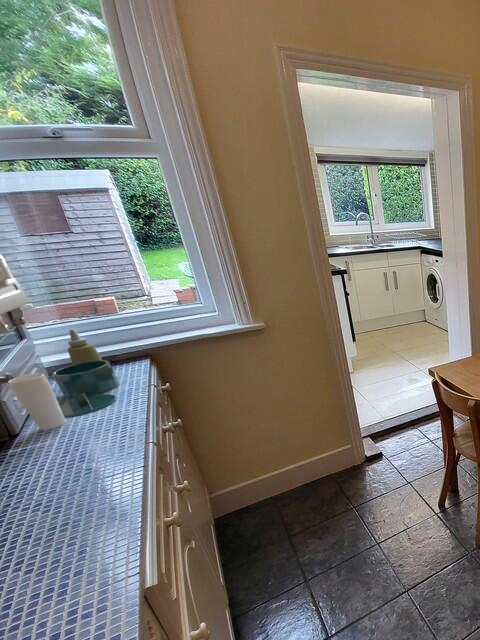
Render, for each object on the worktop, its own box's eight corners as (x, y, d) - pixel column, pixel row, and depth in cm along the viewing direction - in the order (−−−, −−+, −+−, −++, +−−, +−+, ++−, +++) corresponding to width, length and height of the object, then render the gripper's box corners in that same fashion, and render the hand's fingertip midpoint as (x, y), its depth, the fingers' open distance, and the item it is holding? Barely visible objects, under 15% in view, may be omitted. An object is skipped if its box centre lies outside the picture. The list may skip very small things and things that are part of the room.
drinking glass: (46, 434, 110) (15, 384, 104) (31, 431, 112) (1, 381, 106) (77, 422, 116) (50, 374, 110) (62, 419, 118) (35, 371, 112)
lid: (44, 424, 116) (35, 410, 114) (62, 405, 127) (55, 391, 125) (110, 410, 122) (103, 396, 120) (122, 393, 134) (116, 380, 132)
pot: (58, 404, 128) (44, 379, 125) (73, 389, 139) (60, 366, 135) (114, 393, 134) (102, 369, 131) (124, 380, 145) (113, 357, 141)
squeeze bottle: (111, 371, 153) (88, 325, 146) (109, 377, 147) (86, 329, 140) (81, 377, 148) (57, 330, 141) (79, 384, 143) (53, 334, 135)
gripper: (-14, 270, 106) (14, 322, 112) (-61, 280, 90) (-25, 340, 96) (20, 267, 109) (46, 318, 115) (-19, 277, 93) (13, 336, 99)
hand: (13, 328), depth 105 cm, fingers open, 8 cm apart
